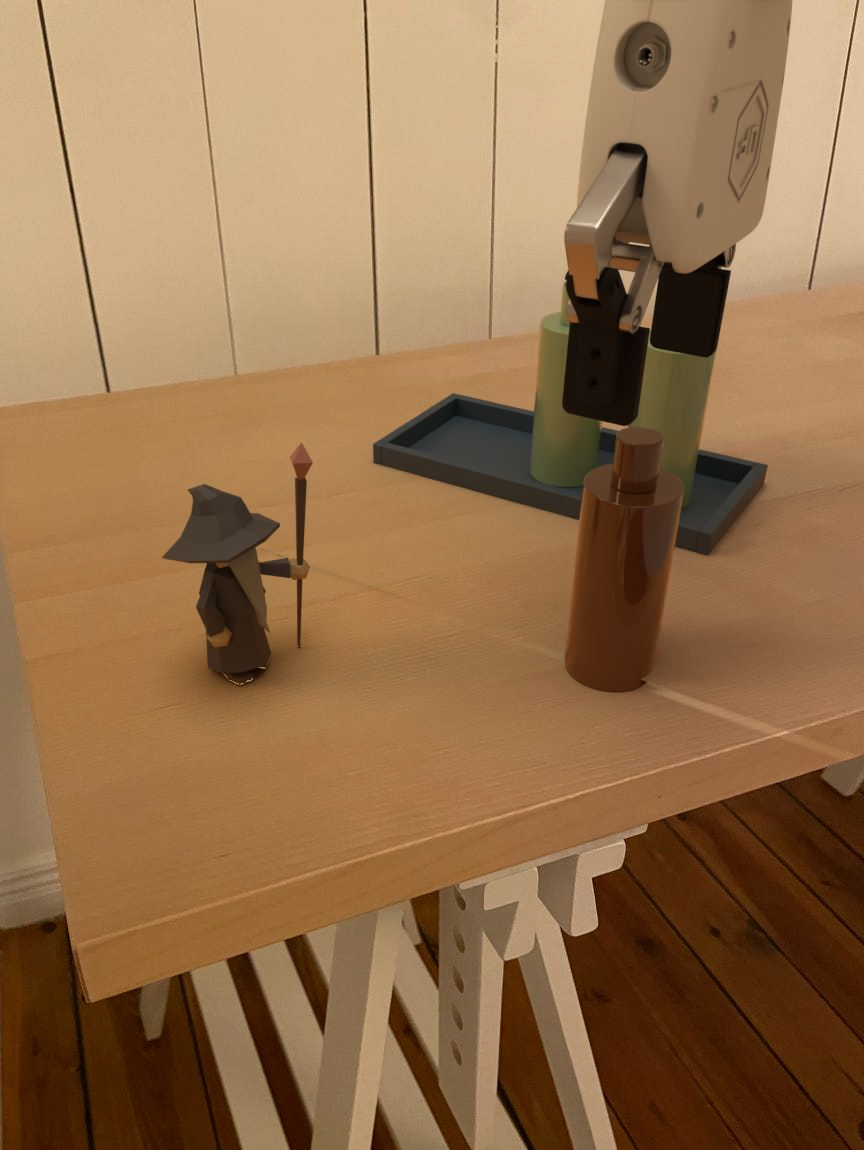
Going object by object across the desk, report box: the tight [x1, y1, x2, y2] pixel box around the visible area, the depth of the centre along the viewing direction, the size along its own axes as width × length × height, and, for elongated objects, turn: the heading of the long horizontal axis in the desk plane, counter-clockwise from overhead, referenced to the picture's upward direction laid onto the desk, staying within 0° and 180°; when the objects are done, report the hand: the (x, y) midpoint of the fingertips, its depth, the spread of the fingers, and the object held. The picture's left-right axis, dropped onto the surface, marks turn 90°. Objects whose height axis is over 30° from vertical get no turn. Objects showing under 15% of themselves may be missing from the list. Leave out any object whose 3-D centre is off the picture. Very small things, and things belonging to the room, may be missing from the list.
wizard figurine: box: [161, 442, 314, 685], centre depth 53 cm, size 8×6×12 cm
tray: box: [372, 392, 769, 556], centre depth 73 cm, size 26×12×2 cm, turn 56°
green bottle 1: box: [530, 280, 603, 487], centre depth 69 cm, size 5×5×14 cm
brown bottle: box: [564, 427, 684, 692], centre depth 51 cm, size 5×5×14 cm
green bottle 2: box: [627, 330, 718, 509], centre depth 66 cm, size 5×5×14 cm
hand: (643, 381), depth 46 cm, fingers open, 9 cm apart
